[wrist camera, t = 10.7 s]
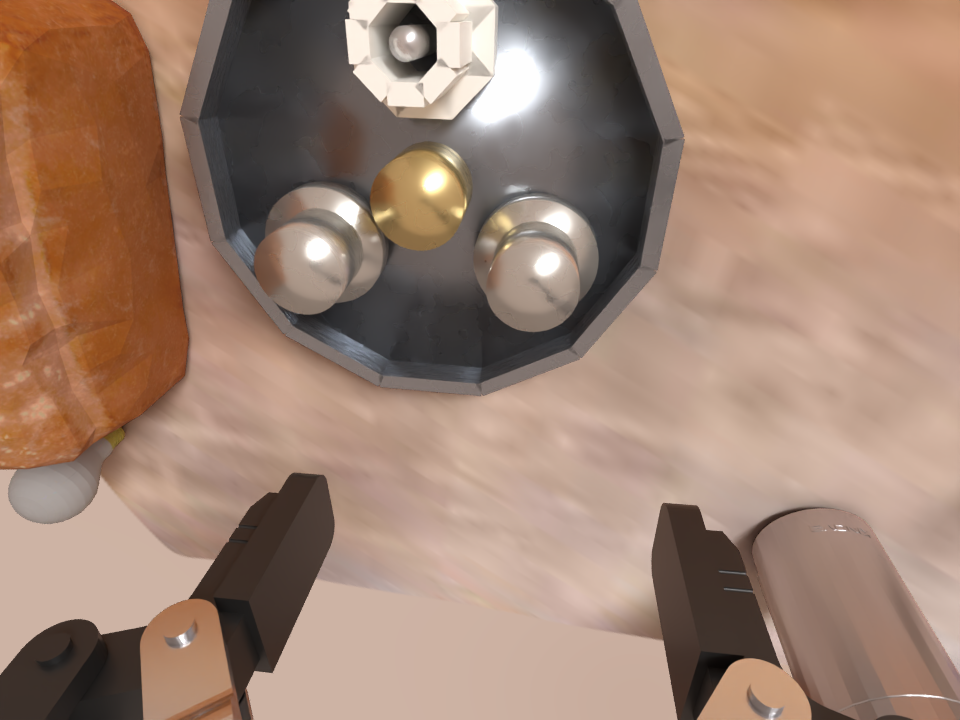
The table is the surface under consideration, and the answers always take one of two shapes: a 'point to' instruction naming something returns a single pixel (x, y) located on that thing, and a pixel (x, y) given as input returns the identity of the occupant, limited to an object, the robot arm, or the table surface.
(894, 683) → the robot arm
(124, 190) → the bread
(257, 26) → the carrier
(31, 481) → the light bulb
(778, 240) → the table surface
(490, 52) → the white faceted ring
